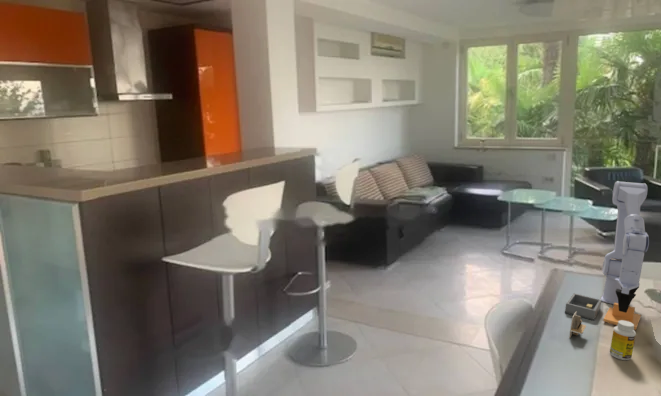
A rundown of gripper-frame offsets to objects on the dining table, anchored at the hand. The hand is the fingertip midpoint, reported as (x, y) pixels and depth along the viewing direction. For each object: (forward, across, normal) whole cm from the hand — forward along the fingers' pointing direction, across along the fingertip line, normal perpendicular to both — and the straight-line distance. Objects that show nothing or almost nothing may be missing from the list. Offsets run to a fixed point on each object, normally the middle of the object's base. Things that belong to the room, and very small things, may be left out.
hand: (624, 307), depth 166 cm
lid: (+5, 0, 0) cm, 5 cm away
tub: (+5, +1, -12) cm, 13 cm away
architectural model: (+5, +23, -10) cm, 25 cm away
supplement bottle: (+5, +28, +3) cm, 28 cm away
